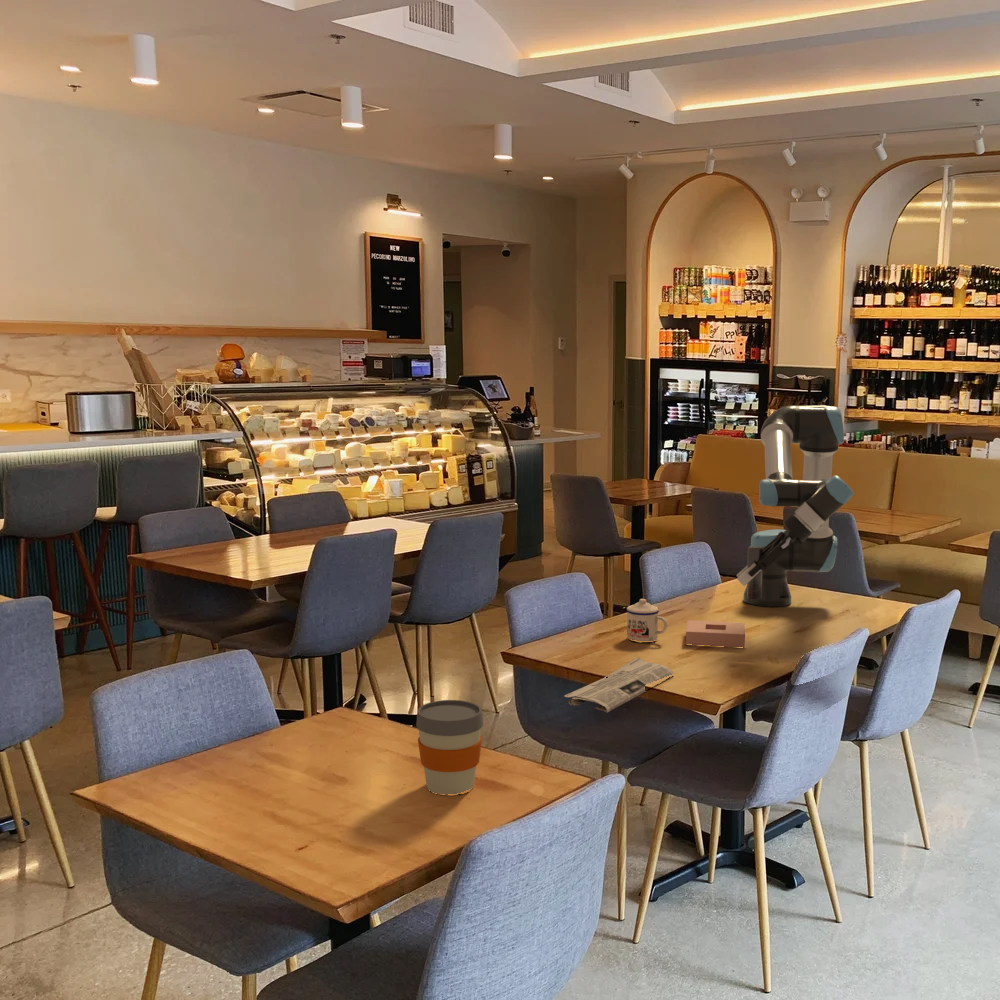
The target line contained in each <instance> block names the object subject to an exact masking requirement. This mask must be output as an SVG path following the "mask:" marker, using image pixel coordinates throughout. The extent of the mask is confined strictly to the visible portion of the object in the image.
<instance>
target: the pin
mask: <svg viewBox="0 0 1000 1000" xmlns="http://www.w3.org/2000/svg"><path fill="white" fill-rule="evenodd" d="M762 554H763V548H762V547H758V546H751V545H749V546H748V547H747V563H746V564H747V565H746V566H747V569H748V568H749V567H750V566H751V565H752V564H754V562H753V561H754V560H755V561H756V562H757V561H758V560H759V559H760V558H761V557H762ZM746 586H747V598H751V599H760V598H762V570H761V571H760V572H759V573H758V574H757V575H756V576H755V577H754V578H753V579H751V580H750V581H749V582H748V583H747V584H746Z"/></svg>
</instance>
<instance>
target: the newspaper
mask: <svg viewBox="0 0 1000 1000" xmlns="http://www.w3.org/2000/svg"><path fill="white" fill-rule="evenodd" d="M613 674H614V675H613ZM672 674H674V675H675V672H674V671H673V670H672V669H671V668H670V667H669V666H666V665H663V664H661V663H655V662H649V661H646V660H643V658H641V657H640V656H637V657H636V658H635V659H632V660H631V661H629V662H627V663H626V664H624V665H623V666H621V667H619V668H618V669H616V670H614V671H613V672H611V673H609V674H608V675H606V676H605V677H603V678H601V679H599V680H596V681H594V682H591V683H589V684H588V685H585V686H583V687H581V688H578V689H575V690H574V691H572V692H570V693H567V694H565V695H564V697H565V698H570V699H569V700H568V704H569V705H570V706H580V705H582V704H583V703H585V702H592V703H596V704H598V706H596V707H595V708H594V710H597V711H598V710H599V711H603V712H604V713H606V714H607V713H609V712H611V711H613V710H615V709H617V708H618V707H620V706H622V705H623V704H626V703H628V702H630V701H631V700H633V699H635V698H637V697H639V696H640V695H642V694H644V693H646V692H647V691H645V685H646V684H648V683H651V682H653V681H657V680H659V679H662V678H664V677H667V676H669V675H672ZM609 675H612V676H610V677H608V678H606V677H607V676H609Z"/></svg>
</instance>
